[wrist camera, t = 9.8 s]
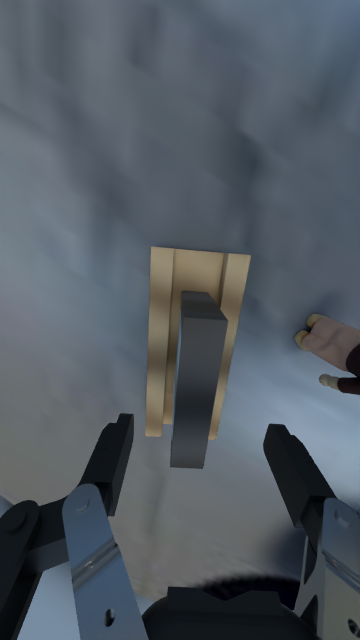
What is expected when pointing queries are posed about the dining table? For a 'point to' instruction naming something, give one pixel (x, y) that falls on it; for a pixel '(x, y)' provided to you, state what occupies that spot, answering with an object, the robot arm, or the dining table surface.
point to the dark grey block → (196, 377)
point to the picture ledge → (164, 311)
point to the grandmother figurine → (334, 350)
